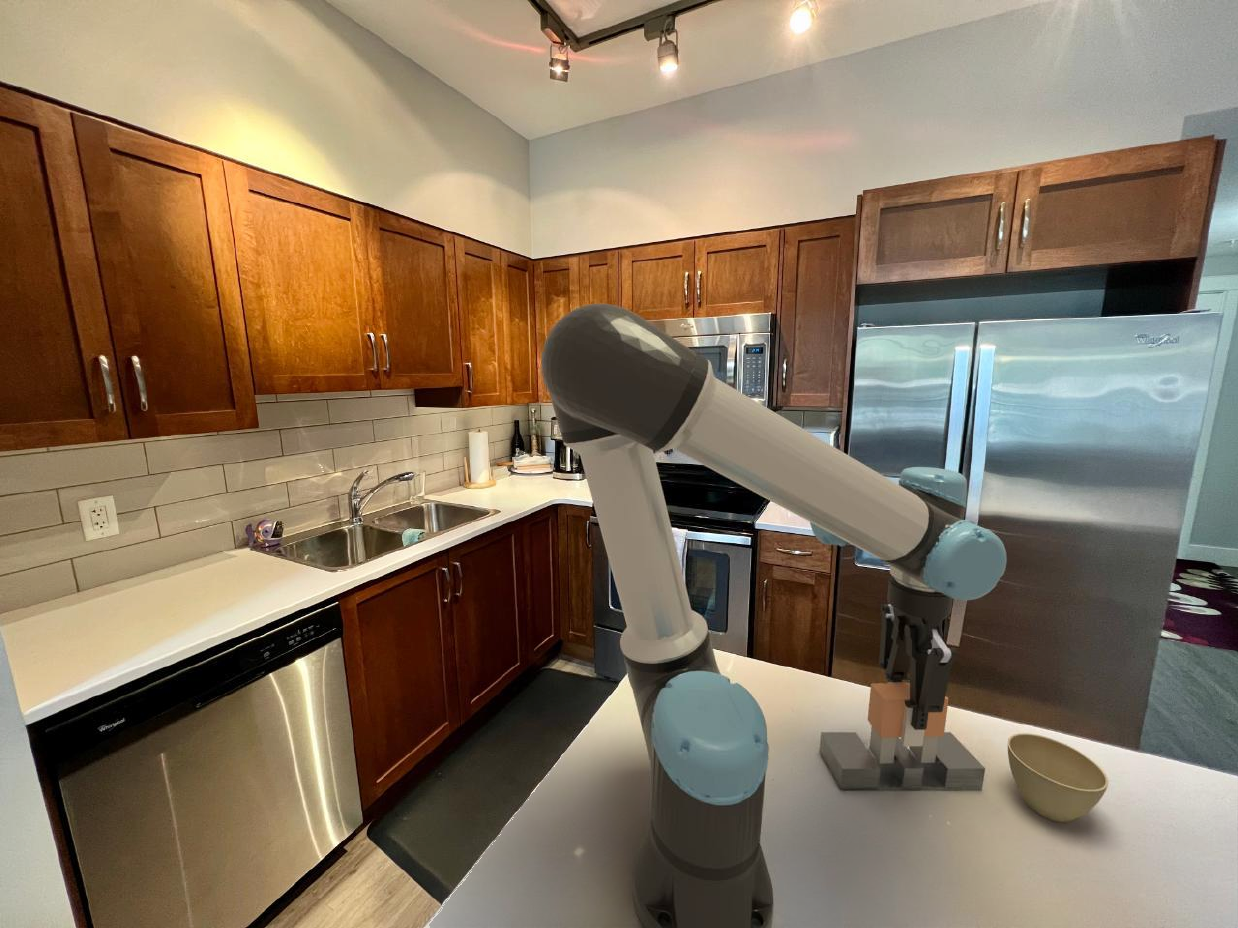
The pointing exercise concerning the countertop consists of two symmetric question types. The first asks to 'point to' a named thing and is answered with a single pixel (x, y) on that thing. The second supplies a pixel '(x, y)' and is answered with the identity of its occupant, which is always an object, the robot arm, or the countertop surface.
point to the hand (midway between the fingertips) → (902, 733)
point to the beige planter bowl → (1055, 777)
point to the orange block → (899, 723)
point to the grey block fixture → (899, 766)
